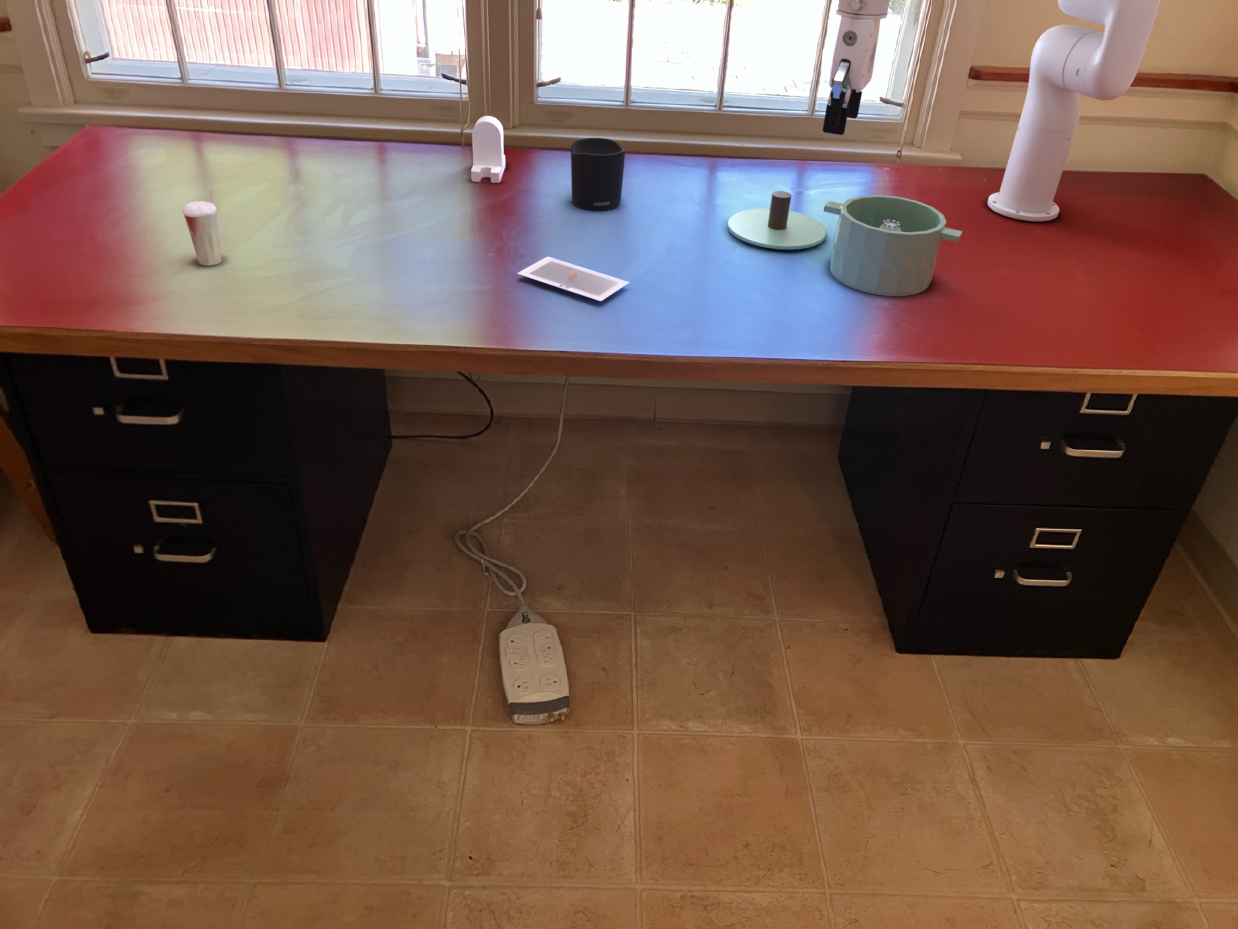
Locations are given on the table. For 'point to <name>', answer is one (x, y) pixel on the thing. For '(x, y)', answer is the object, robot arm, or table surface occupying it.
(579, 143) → the pen holder
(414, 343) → the table surface
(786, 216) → the pot lid
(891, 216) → the pale green cooking pot
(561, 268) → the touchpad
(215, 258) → the milkshake
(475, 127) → the white phone stand
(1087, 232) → the table surface
